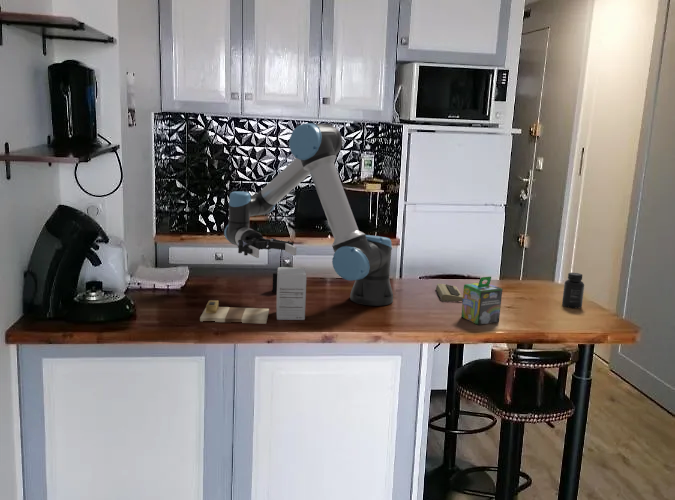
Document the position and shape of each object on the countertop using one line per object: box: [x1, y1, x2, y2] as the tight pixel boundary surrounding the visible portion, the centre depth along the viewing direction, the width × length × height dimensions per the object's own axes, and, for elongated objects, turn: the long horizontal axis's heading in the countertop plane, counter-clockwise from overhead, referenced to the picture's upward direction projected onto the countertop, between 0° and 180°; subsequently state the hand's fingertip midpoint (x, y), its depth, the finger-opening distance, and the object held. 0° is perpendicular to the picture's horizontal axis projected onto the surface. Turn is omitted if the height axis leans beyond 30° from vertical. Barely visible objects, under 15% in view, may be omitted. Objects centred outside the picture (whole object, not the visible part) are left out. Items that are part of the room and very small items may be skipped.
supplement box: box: [275, 266, 307, 321], centre depth 206 cm, size 9×9×15 cm
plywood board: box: [199, 299, 270, 325], centre depth 204 cm, size 20×12×4 cm, turn 92°
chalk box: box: [461, 276, 503, 326], centre depth 212 cm, size 9×9×15 cm
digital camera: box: [272, 272, 277, 294], centre depth 237 cm, size 10×5×7 cm, turn 148°
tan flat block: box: [435, 283, 463, 302], centre depth 241 cm, size 16×8×3 cm, turn 179°
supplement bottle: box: [561, 272, 585, 309], centre depth 235 cm, size 7×7×12 cm
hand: (277, 252), depth 212 cm, fingers open, 13 cm apart
